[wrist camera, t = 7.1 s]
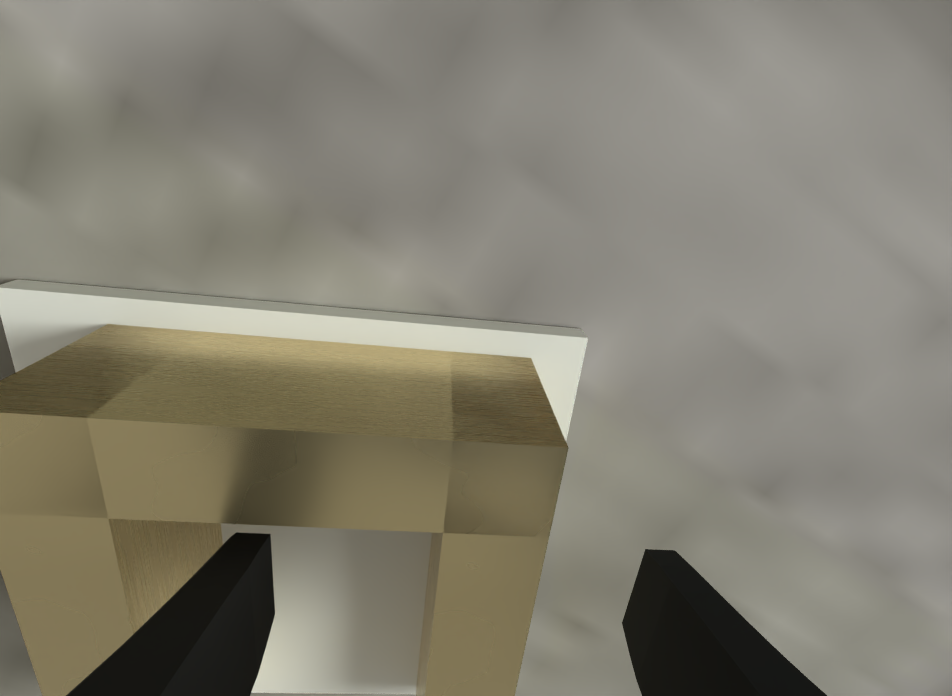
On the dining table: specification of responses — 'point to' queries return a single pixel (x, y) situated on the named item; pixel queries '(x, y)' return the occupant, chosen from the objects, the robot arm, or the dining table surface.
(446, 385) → the c link
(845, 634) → the dining table surface
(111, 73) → the dining table surface
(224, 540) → the coaster
